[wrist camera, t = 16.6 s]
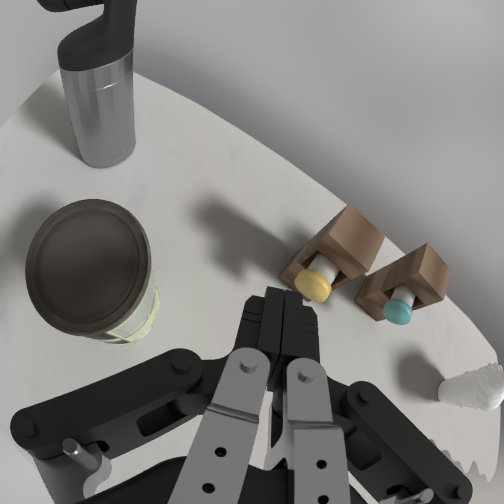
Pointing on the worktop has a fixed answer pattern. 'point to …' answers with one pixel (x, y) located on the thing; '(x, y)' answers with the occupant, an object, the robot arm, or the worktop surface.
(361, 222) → the walnut box
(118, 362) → the worktop surface
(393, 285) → the walnut box
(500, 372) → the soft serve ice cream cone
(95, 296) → the coffee can
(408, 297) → the teal button
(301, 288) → the ochre button
